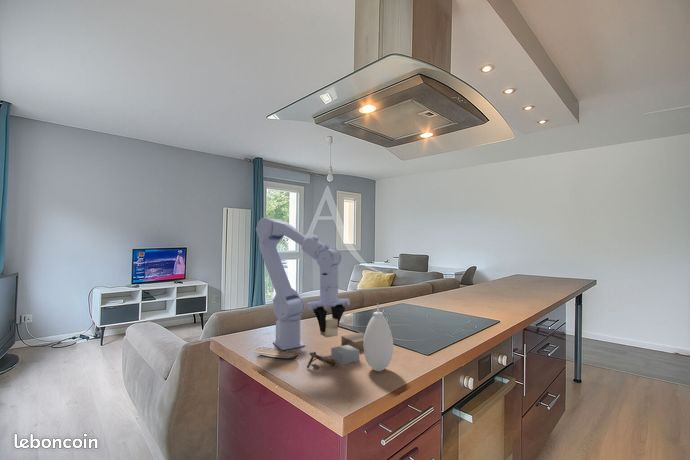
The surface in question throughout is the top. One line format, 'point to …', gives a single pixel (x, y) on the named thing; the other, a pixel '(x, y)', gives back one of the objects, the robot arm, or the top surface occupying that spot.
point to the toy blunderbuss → (332, 363)
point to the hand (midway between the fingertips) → (328, 330)
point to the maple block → (330, 327)
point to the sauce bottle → (378, 342)
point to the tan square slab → (353, 340)
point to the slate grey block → (345, 354)
